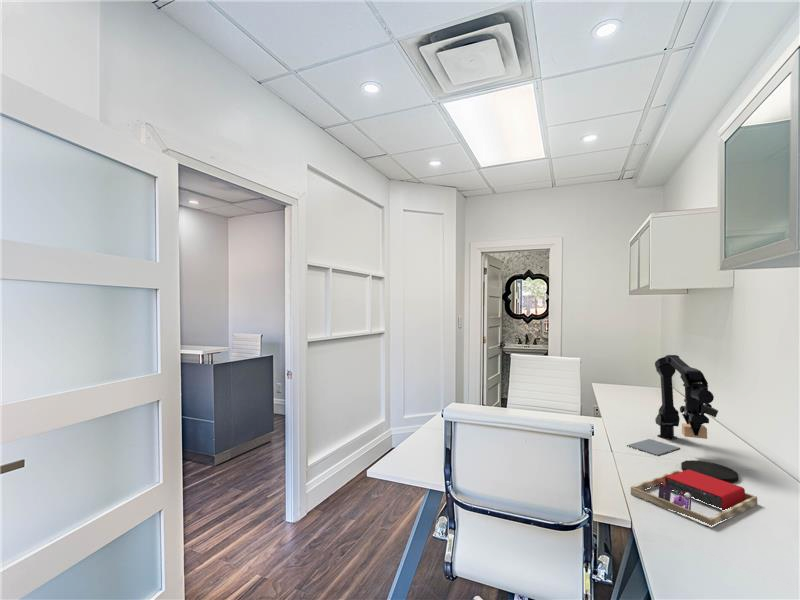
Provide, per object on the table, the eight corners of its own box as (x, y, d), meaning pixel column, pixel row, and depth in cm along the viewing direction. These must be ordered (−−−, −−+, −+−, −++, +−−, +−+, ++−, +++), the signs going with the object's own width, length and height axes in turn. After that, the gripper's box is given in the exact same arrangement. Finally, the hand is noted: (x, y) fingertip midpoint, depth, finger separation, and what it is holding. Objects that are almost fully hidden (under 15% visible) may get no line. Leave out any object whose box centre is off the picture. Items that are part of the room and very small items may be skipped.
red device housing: (665, 490, 141) (664, 476, 141) (687, 481, 147) (686, 468, 148) (723, 512, 125) (722, 497, 125) (745, 502, 131) (744, 487, 132)
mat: (649, 440, 193) (649, 438, 193) (680, 448, 180) (680, 447, 180) (627, 446, 185) (626, 445, 185) (657, 456, 172) (657, 454, 172)
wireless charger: (742, 474, 153) (742, 469, 153) (734, 488, 141) (733, 483, 141) (687, 461, 167) (687, 457, 167) (676, 473, 155) (675, 468, 155)
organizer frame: (677, 476, 151) (677, 470, 151) (757, 504, 129) (757, 496, 130) (630, 494, 138) (630, 487, 138) (711, 528, 116) (711, 520, 116)
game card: (658, 483, 132) (690, 493, 124) (664, 484, 134) (695, 493, 127) (656, 504, 130) (689, 515, 123) (662, 504, 133) (694, 515, 126)
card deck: (682, 433, 176) (681, 423, 176) (703, 435, 172) (703, 425, 172) (684, 436, 171) (684, 426, 171) (707, 438, 168) (706, 428, 168)
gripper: (723, 404, 160) (724, 442, 160) (708, 395, 178) (709, 429, 177) (691, 402, 165) (692, 439, 164) (678, 393, 182) (680, 426, 182)
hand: (694, 433), depth 172 cm, fingers closed on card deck, 5 cm apart
